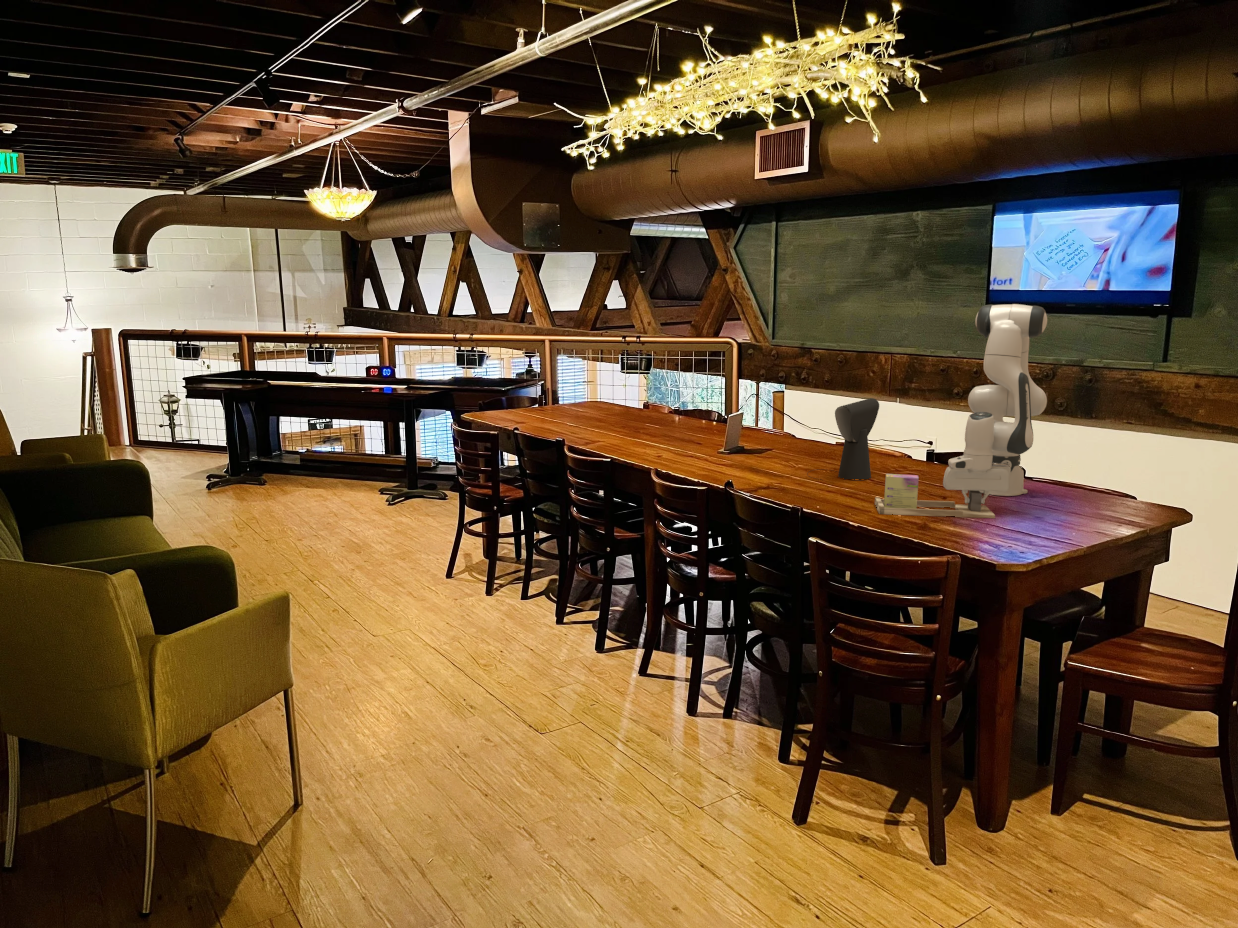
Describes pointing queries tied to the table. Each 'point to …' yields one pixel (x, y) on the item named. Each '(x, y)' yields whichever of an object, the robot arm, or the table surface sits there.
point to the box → (901, 491)
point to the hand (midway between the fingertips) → (974, 503)
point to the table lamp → (856, 437)
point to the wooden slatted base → (961, 510)
